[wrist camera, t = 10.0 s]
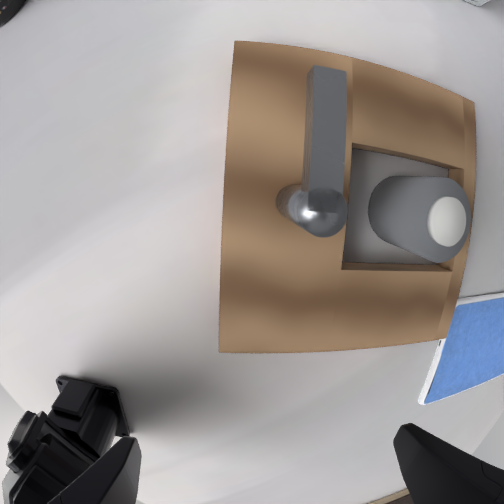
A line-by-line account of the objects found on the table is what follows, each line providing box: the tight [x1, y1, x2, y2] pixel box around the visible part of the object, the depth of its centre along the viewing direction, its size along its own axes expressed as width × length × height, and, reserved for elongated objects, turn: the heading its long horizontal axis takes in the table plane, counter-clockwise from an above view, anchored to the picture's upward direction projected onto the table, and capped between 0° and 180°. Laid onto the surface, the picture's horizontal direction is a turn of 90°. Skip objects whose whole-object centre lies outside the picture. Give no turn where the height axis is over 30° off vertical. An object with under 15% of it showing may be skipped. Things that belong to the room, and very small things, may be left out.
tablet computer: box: [418, 292, 504, 405], centre depth 24 cm, size 19×13×1 cm, turn 89°
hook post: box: [276, 65, 348, 238], centre depth 14 cm, size 7×2×6 cm, turn 177°
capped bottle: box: [368, 176, 471, 263], centre depth 17 cm, size 5×5×6 cm
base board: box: [219, 41, 476, 353], centre depth 18 cm, size 20×19×2 cm
